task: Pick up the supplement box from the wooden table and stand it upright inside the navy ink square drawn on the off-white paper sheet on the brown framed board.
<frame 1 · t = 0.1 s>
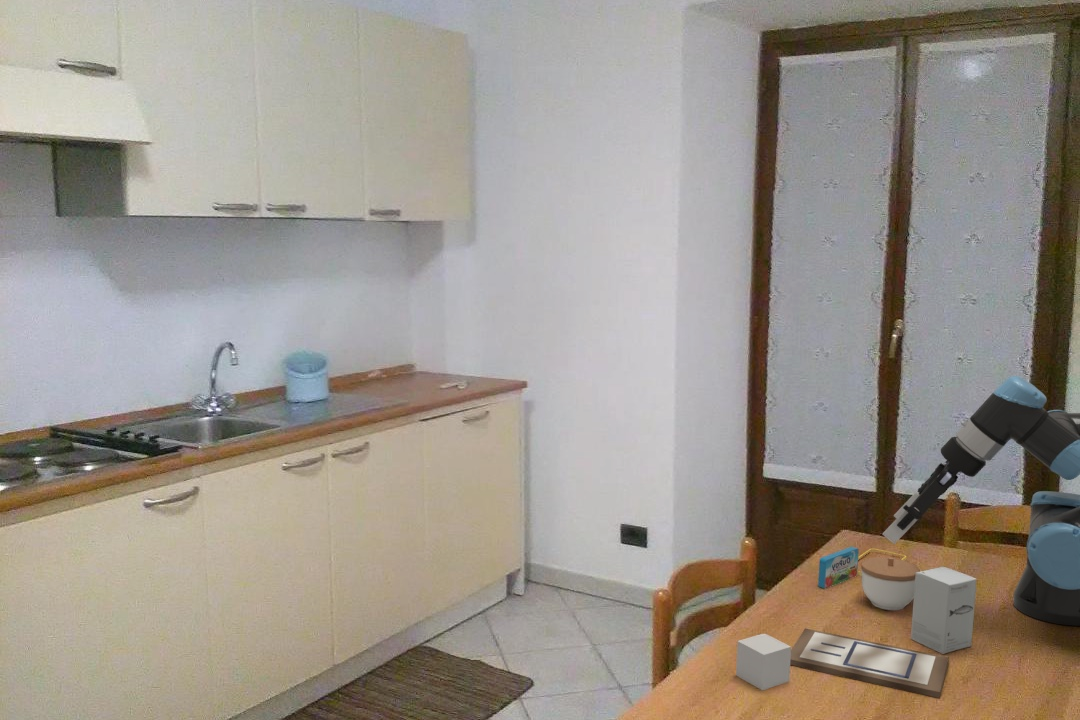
hand: (893, 529, 186), 15 cm above the table, tool tilted 35°, fingers open, 13 cm apart
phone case: (875, 568, 210), on the table
gray cube: (762, 679, 157), on the table
brown framed board: (867, 663, 163), on the table
lidded jar: (887, 605, 188), on the table
yogurt: (837, 582, 200), on the table
supplement box: (940, 644, 171), on the table
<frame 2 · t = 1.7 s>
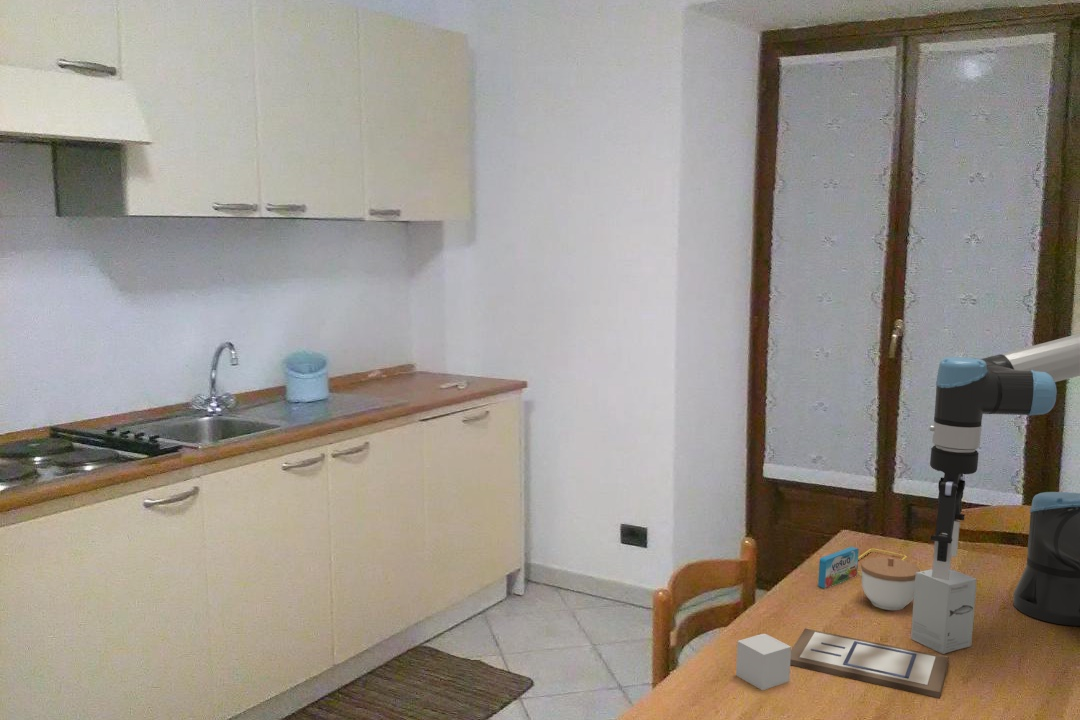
hand: (944, 566, 169), 14 cm above the table, tool pointing down, fingers open, 13 cm apart
nothing on the table moved.
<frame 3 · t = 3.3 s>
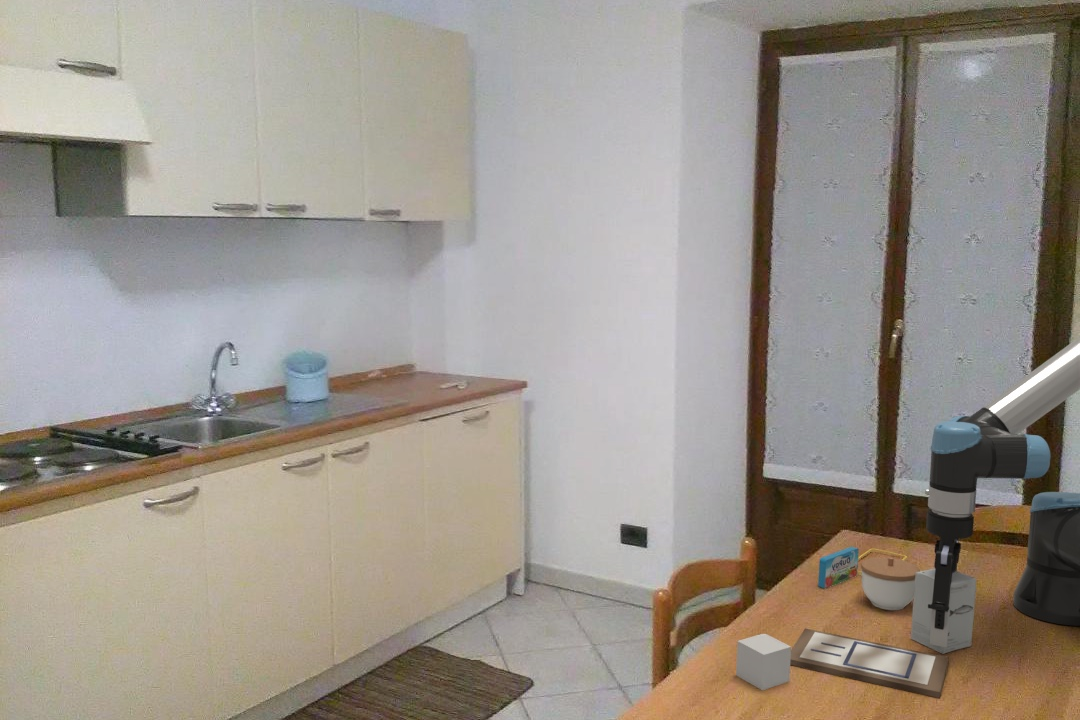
hand: (941, 633, 171), 2 cm above the table, tool pointing down, fingers closed on supplement box, 10 cm apart
supplement box: (940, 644, 171), on the table, touching gripper
everything else where it was.
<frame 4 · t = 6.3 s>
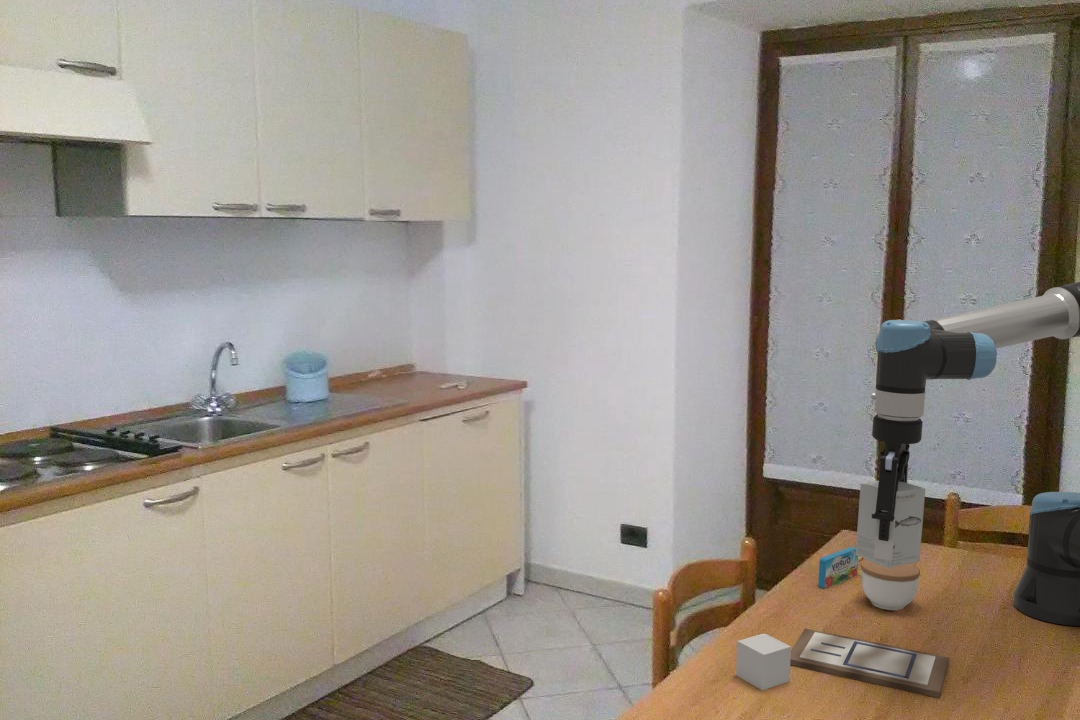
hand: (888, 549, 159), 20 cm above the table, tool pointing down, fingers closed on supplement box, 10 cm apart
supplement box: (887, 560, 159), point 18 cm above the table, touching gripper
everything else where it was.
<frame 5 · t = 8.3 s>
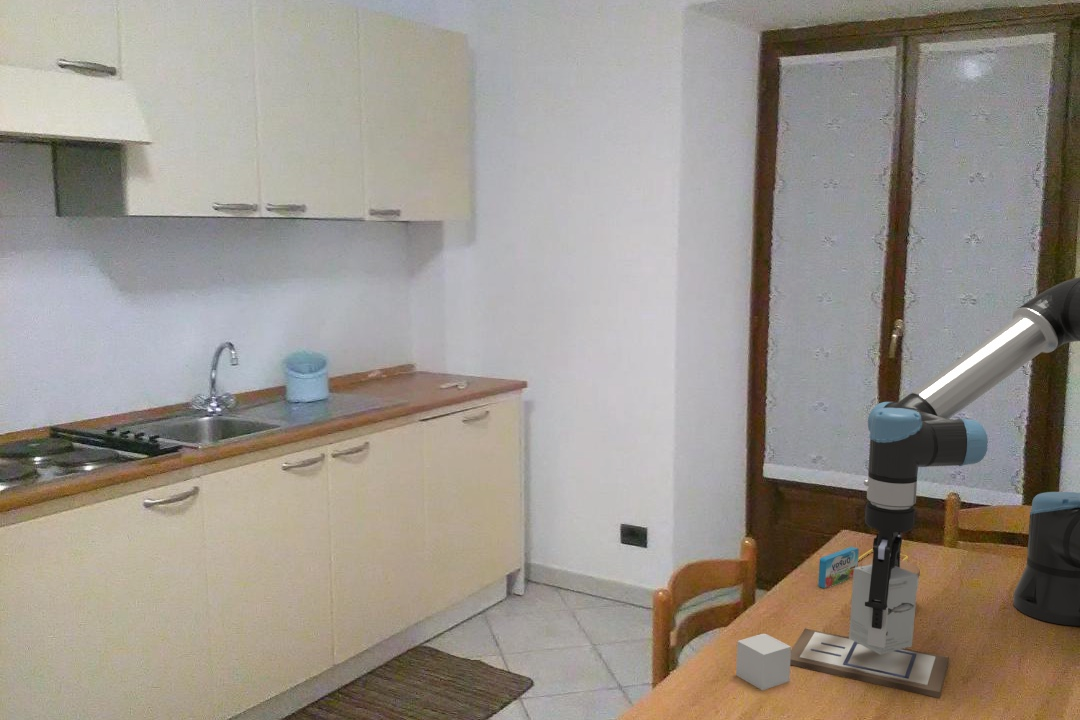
hand: (881, 633, 161), 6 cm above the table, tool pointing down, fingers closed on supplement box, 10 cm apart
supplement box: (880, 644, 161), point 4 cm above the table, touching gripper
everything else where it was.
when the fingers open (4 cm above the table, at t = 9.6 s): supplement box stays where it is, resting on brown framed board.
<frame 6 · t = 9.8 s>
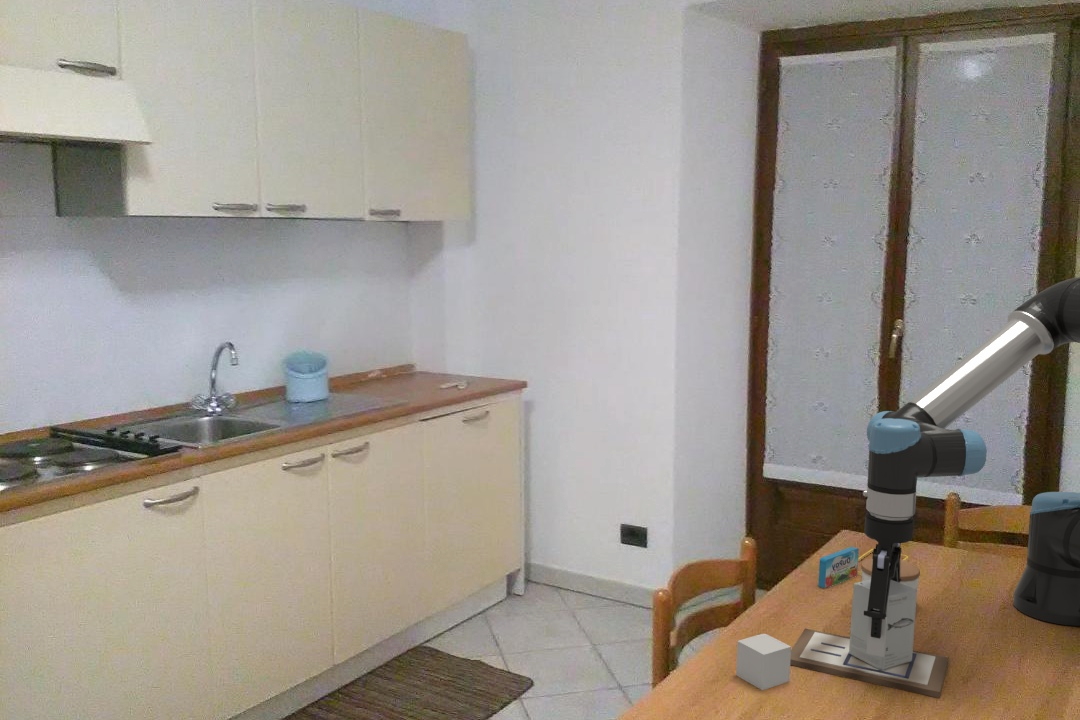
hand: (881, 640, 161), 4 cm above the table, tool pointing down, fingers open, 11 cm apart
supplement box: (880, 659, 162), point 1 cm above the table, touching brown framed board
everything else where it was.
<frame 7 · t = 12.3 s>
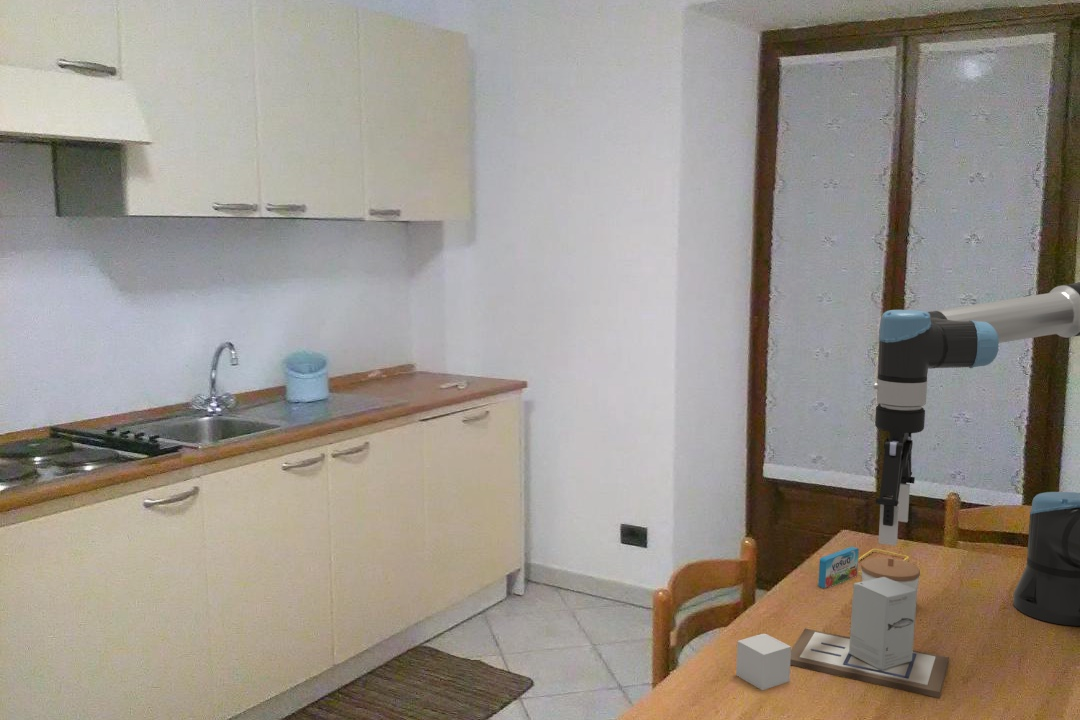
hand: (893, 532, 160), 23 cm above the table, tool pointing down, fingers open, 13 cm apart
nothing on the table moved.
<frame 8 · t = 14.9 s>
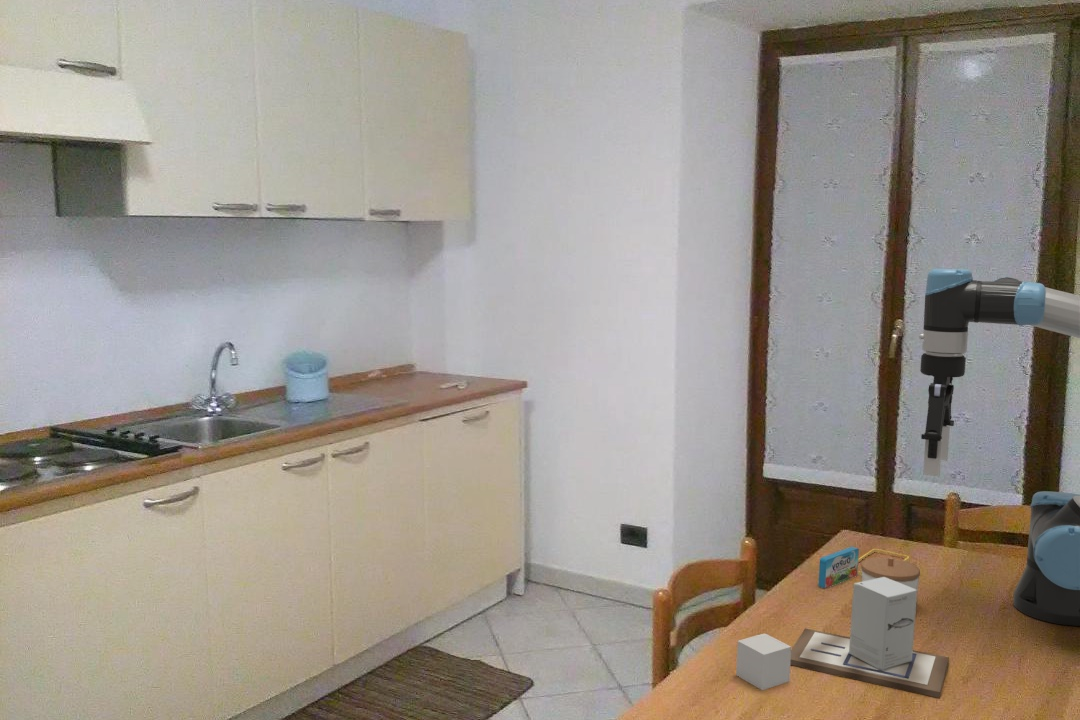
hand: (935, 467, 179), 29 cm above the table, tool pointing down, fingers open, 13 cm apart
nothing on the table moved.
at the end: supplement box 0.3 cm from the target spot, point 1.1 cm above the table; supplement box tilted 0°; the gripper is holding nothing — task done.
